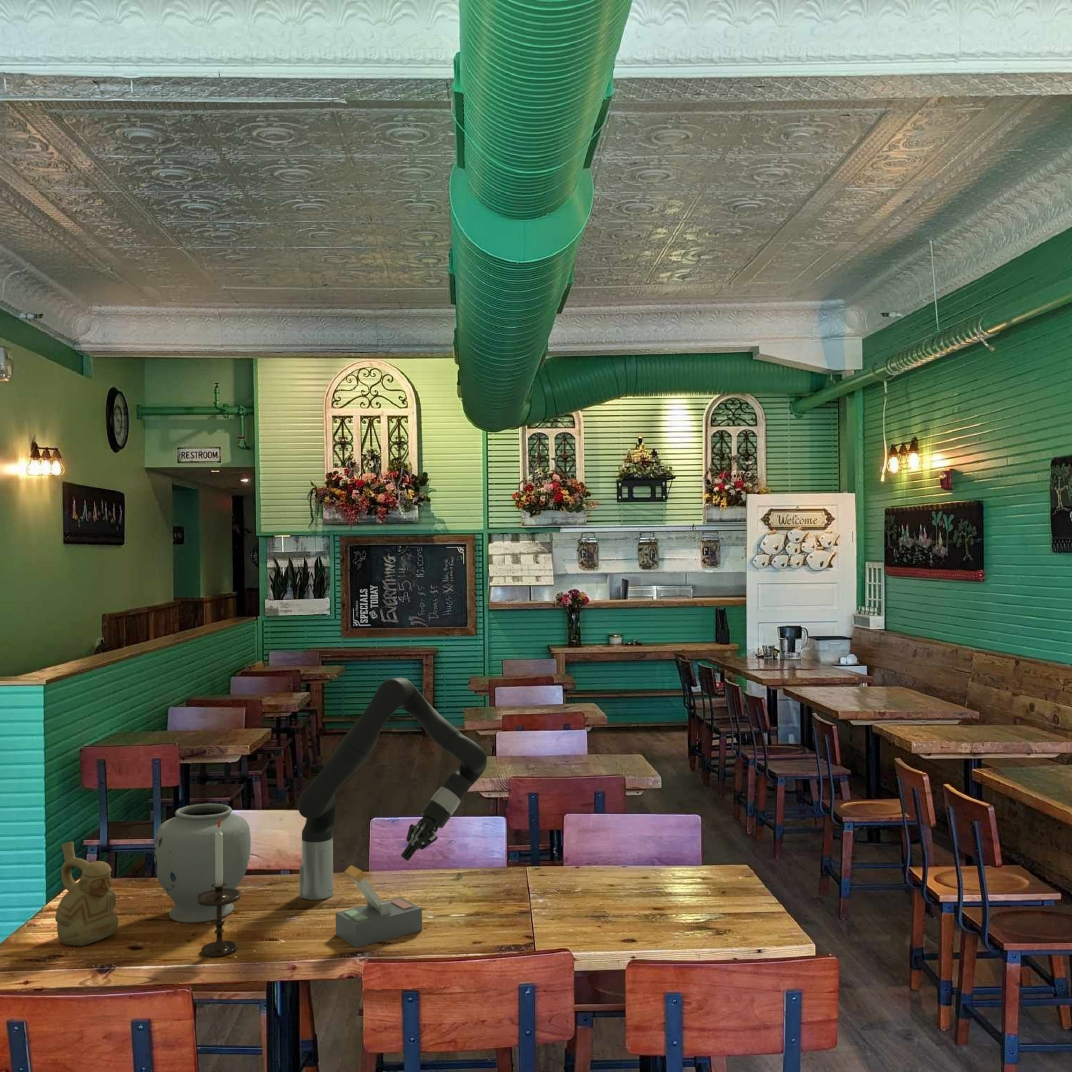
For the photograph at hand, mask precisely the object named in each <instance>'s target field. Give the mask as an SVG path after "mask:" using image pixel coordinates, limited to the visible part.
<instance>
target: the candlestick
mask: <svg viewBox="0 0 1072 1072" xmlns="http://www.w3.org/2000/svg"><path fill="white" fill-rule="evenodd" d="M221 820H222V819H221V817H220V819H219V821H218V824H217V826H218V827H220V824H221ZM226 885H227V884H226V883H223V833H221V831H220V828H218V830H217V833H216V834H215V884H213V885H211V887H214V888H215V890H210V891H206V892H204V893H201V894H200V895H198V897H197V902H198V904H200V905H204V906H217V919H215V920H213V925H214V926H215V930H214V932H213V933H214V934H216V940H215V941H213V942H210V943H207V944H205V945H202V947H201V950H200V951H201V953H200V954H201V955H202V956H203V957H206V958H222V957H226V956H229V955H232V954H234V953H236V952H237V950H238V943H236V942H235V941H232V940H223V933H224V932H225V929H223V926H224V925H225V923H226V922H225V921H226V920H225V919H224V918H223V917H222V905H227V904H231V903H232V904H233V903H236V902H238V901H239V900H241V897H242V892H241V891H240V890H238V889H237V888H236V889H229V888H224V889H223V887H224V886H226Z"/></svg>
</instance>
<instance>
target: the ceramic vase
mask: <svg viewBox="0 0 1072 1072" xmlns="http://www.w3.org/2000/svg"><path fill="white" fill-rule="evenodd" d="M174 815H175V816H174V817H171V818H169V819H168V820H165V821H164V822H162V823H161V824H160V825H159V826H158V828H157V830H156V832H155V837H154V842H153V843H154V844H153V861H154V868H155V869H154V870H155V874H156V877H157V881H158V882H159V884H160V886H161V887H162V889H163V890H164V891H165V893H166V895H168V897H169V898H170V899H171V900H172V901H173V902H174V907H172V909H171V910H170V911H169V913H168V914H169V917H170V919H171V920H173V921H175V922H178V923H185V924H186V923H189V924H190V923H191V924H195V923H204V922H211V921H215V920H216V919H217V906H204V905H200V904H198V902H197V897H198V895H200V894H201V893H204V892H206V891H210V890H215V888H214V887H211V885H213V884H215V834H216V833H217V830H218V828H220V831H221V833H223V883H226V884H227V885H226V886H224V887H223V889H224V888H229V889H236V890H237V888H238V886H239V885H240V883H241V881H242V880H243V878H244V876H245V874H246V872H247V869H248V866H249V861H250V859H251V858H250V856H251V851H252V850H251V847H252V844H251V843H252V841H251V840H252V839H251V830H250V825H249V823H248V822H247V820H246V819H245V818H243V817H242V816H240V815H238V814H234V813H233V809H232V808H231V806H228V805H226V804H222V803H220V804H219V803H202V804H201V803H200V804H193V805H185V806H184V807H180V808H178V809H176V810H175V812H174ZM220 817H221V819H222V820H221V824H220V827H218V826H217V824H218V821H219V819H220ZM234 908H235V906H234V904H233V903H231V904H227V905H222V918H223V917H226V916H228V915H230V914H231V913H232V912H233V911H234Z"/></svg>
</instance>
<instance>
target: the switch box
mask: <svg viewBox="0 0 1072 1072" xmlns="http://www.w3.org/2000/svg"><path fill="white" fill-rule="evenodd" d="M381 901H382V900H381ZM382 902H383V903H382V904H380V910H378V909H376V908H374V907H372V906H371V904H370V903H369V902H368V900H367V899H366V905H362V906H357V907H353V908H348V909H344V910H341V911H337V912H335V935H336V936H337V937H339V939H341V940H343V941H345V942H346V943H348V944H349V945H350V946H352V947H354V948H356V949H357V948H361V947H364V946H367V945H372V944H375V943H379V942H383V941H388V940H390V939H395V938H399V937H403V936H407V935H410V934H414V933H418V932H422V931H423V908H422V907H420V906H418V905H416V904H415V903H412V902H411V901H409V900H407V899H405V898H403V897H401V896H400V897H396V898H395V897H394V898H391V899H387V900H383V901H382Z"/></svg>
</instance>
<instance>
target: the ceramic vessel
mask: <svg viewBox="0 0 1072 1072" xmlns="http://www.w3.org/2000/svg"><path fill="white" fill-rule="evenodd" d="M61 849H62V851H63V857H64V862H63V863H62V865H61V871H60V873H61V882H62V884H63V887H64V888H65V889H66V890H67V892H66V893H65V894H64V895H63V897H62V898H61V900H59V903H58V905H57V908H56V911H55V912H56V913H55V918H54V919H55V922H56V924H57V925H56V928H57V929H56V930H57V937H58V940H59V942H60V943H61V944H64V945H67V946H80V947H84V946H87V945H89V944H93V943H96V942H98V941H101V940H103V939H105V938H108V937H110V936H112V935H113V934H115V931H116V930H117V929H118V926H119V918H118V916H117V914H116V913H115V912H114V909H115V907H116V905H117V903H116V902H117V900H116V894H115V891H114V889H113V888H112V887H111V886H112V882H113V880H112V877H111V875H112V873H111V872H112V867H111V866H110V864H109V863H107V862H106V861H102V860H96V861H92V862H90V861H88V860H86V859H84V858H81V857H76V852H75V847H74V841H70V842H66V843H62V844H61ZM73 867H74V868H78V869H79V870H80V871H81V874H80V878H79V880H78V881H77V882H76V881H75V879H74V877H73V876H72V875H73V874H72V870H73V869H72V868H73Z"/></svg>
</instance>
